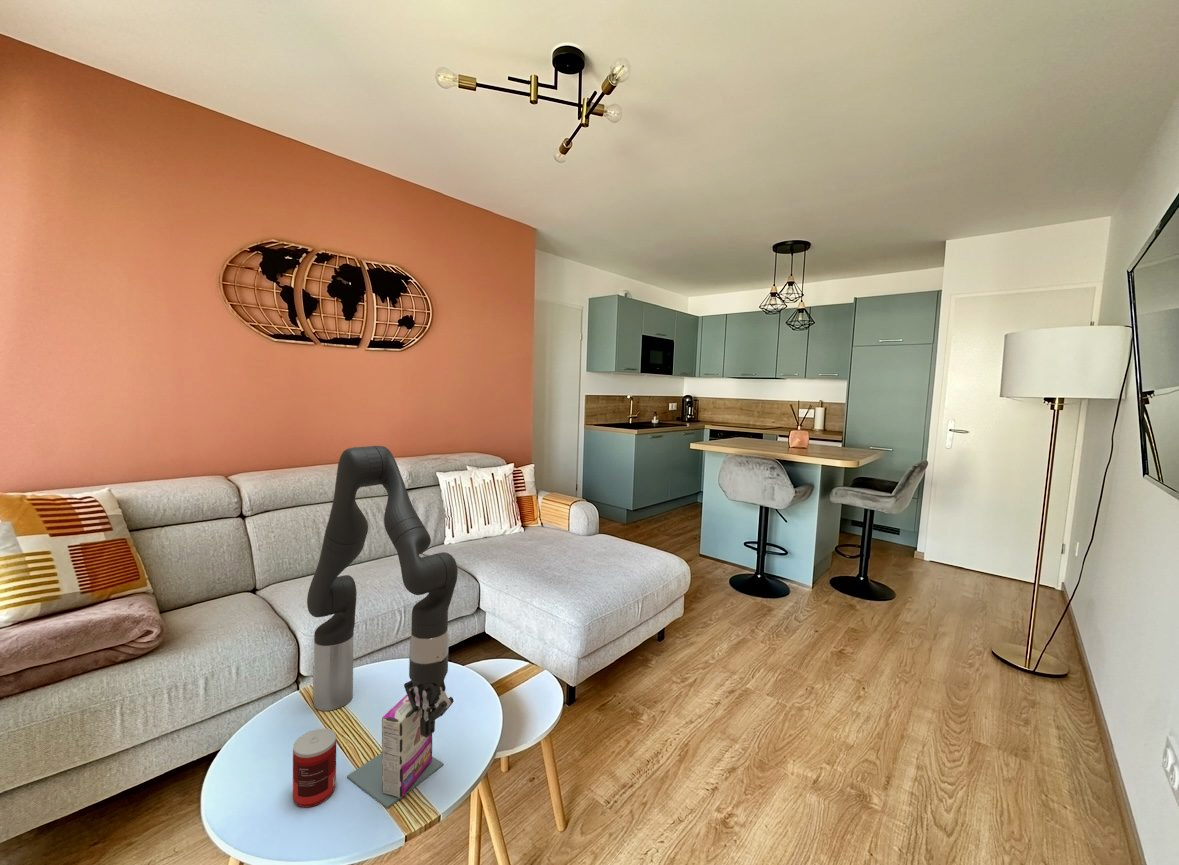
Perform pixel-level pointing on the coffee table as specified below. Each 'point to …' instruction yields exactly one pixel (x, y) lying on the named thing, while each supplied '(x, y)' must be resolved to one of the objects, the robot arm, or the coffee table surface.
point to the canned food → (314, 767)
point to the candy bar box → (403, 749)
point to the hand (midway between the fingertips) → (427, 734)
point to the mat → (371, 779)
